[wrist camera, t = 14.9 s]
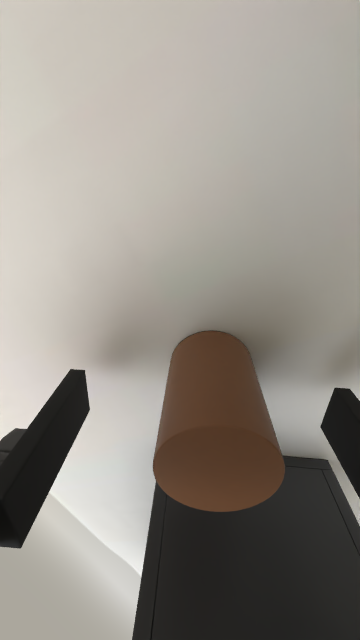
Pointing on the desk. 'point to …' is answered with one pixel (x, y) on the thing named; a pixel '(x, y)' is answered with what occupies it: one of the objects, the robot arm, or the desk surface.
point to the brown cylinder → (216, 428)
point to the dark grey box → (255, 565)
